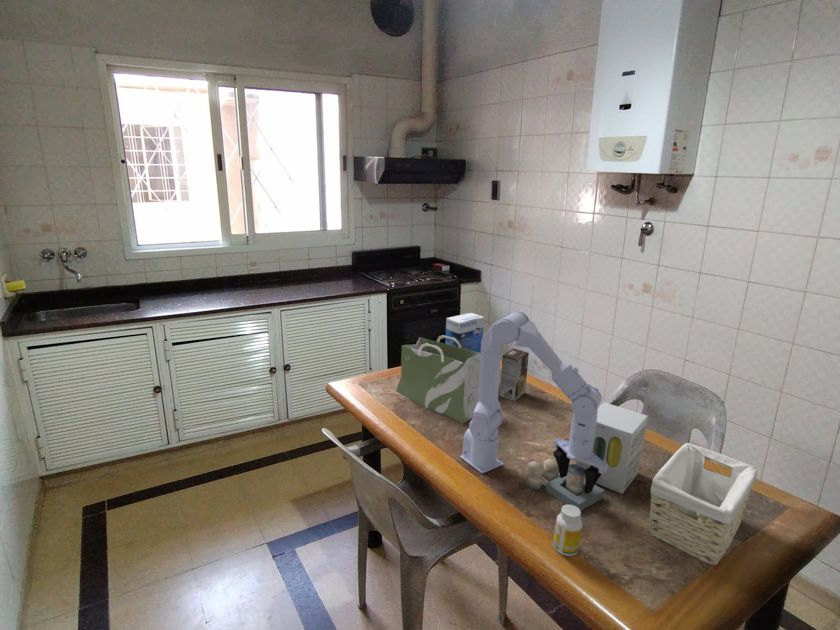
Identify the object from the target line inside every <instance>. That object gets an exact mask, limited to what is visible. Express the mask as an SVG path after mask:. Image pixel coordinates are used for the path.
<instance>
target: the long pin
mask: <svg viewBox="0 0 840 630" xmlns="http://www.w3.org/2000/svg"><path fill="white" fill-rule="evenodd" d="M584 470H585V469H584V467H582V466H580V465H577V464H576V463H573V464H569V467H568V475H567V482H566V488H565V489H567V490H568V491H570V492H571V493H573V494H574V495H576V496H579V495H580V494H582V493H583V492H582V489H583V482H584V479H585V478H584V476H585V472H584Z"/></svg>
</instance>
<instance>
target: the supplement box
mask: <svg viewBox="0 0 840 630" xmlns="http://www.w3.org/2000/svg"><path fill="white" fill-rule="evenodd" d="M597 415H598V416H597V425H596V432H595V439H594V445H593V453H594V454H595V455H596V456H597V457H598V458H600V459H601V460H602V461H603V462H604V463H606V464H608V468H607V472H605V473H603V474H602V475H601V476H600V477H599V479H598V480H597V481H596V483H595V484H597V485H600V486H602V487H605V488H607V489H609V490H612V491H614V492H616V493H619V494H620V495H622V494H624V493H625V491H626V490H627V489H628V488H629V486H631V485H630V484H632V482H633V481H634V479H635V478H636V476H637V475H638V474H639V468H640V463H641V458H642V453H643V445H644V440H645V436H646V435H645V434H646V430H647V425H648V419H649V415H646V414H644V413H643V414H642V413H640V412H637V411H633V410H630V409H627V408H624V407H623V406H622V407H621V406H618V405H614V404H611V403H609V402H605V401H601V404H600V406H599V408H598V413H597ZM575 464H577V465H580V466H582V467H584V469H587V468H590V465H588V464H586V463H583V462H580V461H578V460H575ZM584 479H585V476H584Z"/></svg>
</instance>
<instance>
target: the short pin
mask: <svg viewBox="0 0 840 630" xmlns="http://www.w3.org/2000/svg"><path fill="white" fill-rule="evenodd" d="M543 466H544V470H543V478H544V479H545V480H547V481H549V482H550V481H552V480H554V479H556V478H558V477H559V468H558V464H557V461H556V459H552V458H548V459H545V460H544V461H543Z"/></svg>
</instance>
